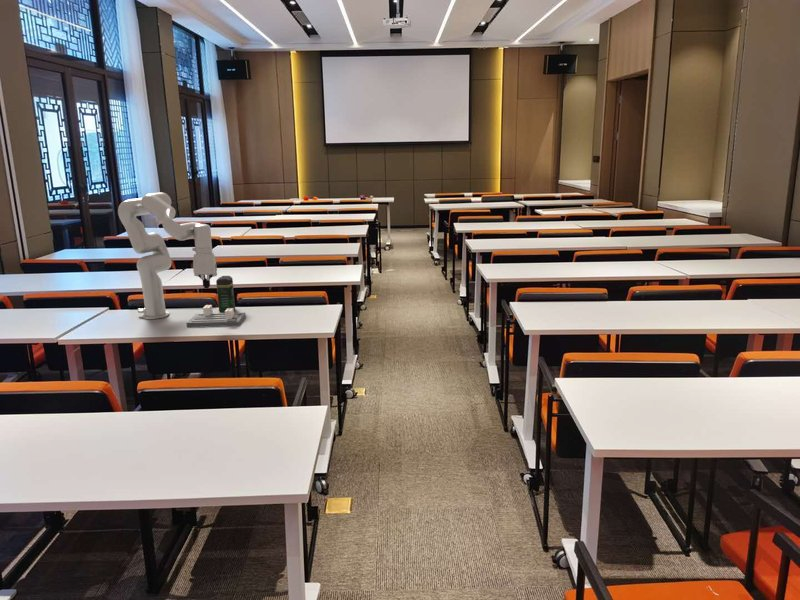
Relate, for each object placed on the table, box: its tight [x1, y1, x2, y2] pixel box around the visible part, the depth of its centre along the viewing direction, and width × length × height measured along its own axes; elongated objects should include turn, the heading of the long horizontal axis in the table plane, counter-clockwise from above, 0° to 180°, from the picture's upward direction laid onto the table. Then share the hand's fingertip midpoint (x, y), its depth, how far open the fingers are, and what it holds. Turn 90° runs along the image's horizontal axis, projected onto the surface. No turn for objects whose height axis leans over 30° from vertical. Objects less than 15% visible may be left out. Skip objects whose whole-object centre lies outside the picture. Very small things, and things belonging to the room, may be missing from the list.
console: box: [185, 304, 247, 328], centre depth 290 cm, size 25×15×7 cm, turn 92°
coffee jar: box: [215, 275, 236, 313], centre depth 306 cm, size 10×8×19 cm
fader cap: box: [225, 308, 235, 319], centre depth 287 cm, size 3×5×4 cm, turn 2°
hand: (206, 287), depth 283 cm, fingers closed
